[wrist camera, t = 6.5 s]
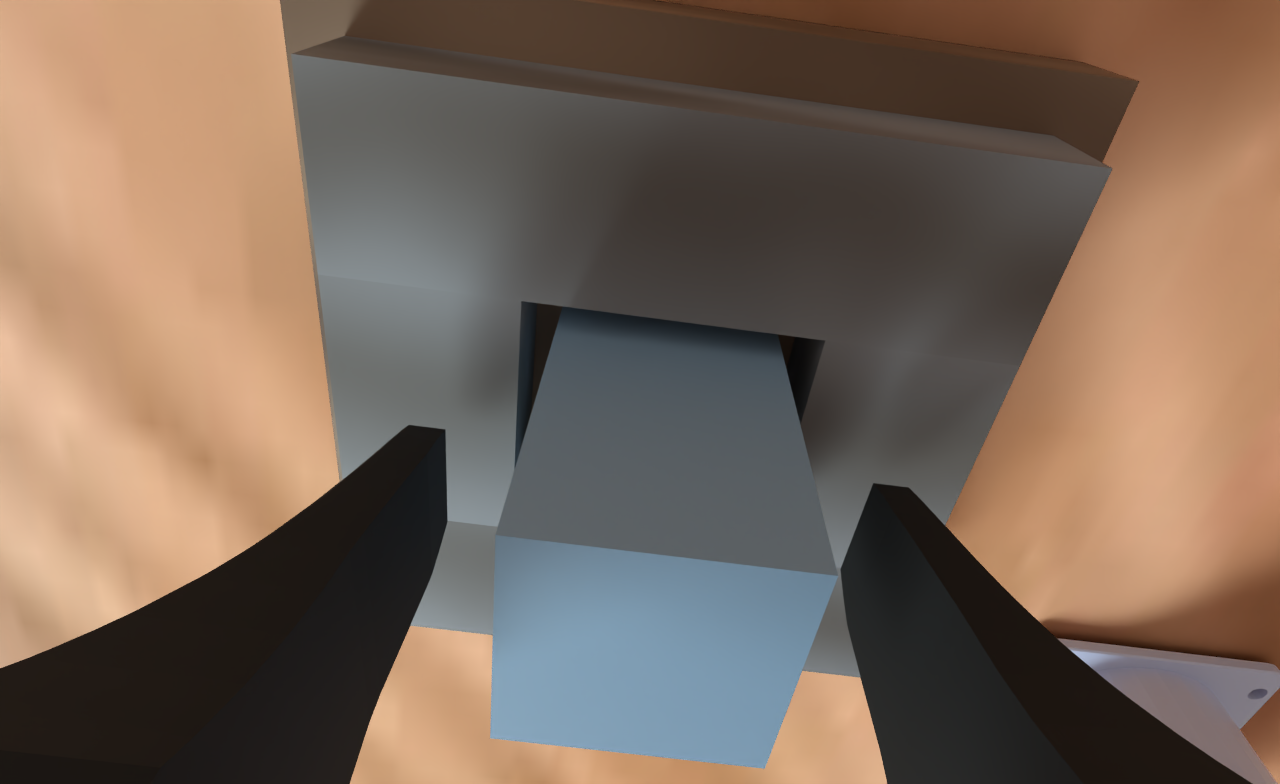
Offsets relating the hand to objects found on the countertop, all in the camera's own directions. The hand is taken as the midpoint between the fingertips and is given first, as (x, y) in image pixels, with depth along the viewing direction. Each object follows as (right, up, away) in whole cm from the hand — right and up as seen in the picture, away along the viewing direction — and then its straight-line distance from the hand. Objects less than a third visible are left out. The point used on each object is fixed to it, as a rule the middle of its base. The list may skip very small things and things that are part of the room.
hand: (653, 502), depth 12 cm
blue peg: (0, +2, +3) cm, 4 cm away
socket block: (0, +3, +5) cm, 6 cm away
